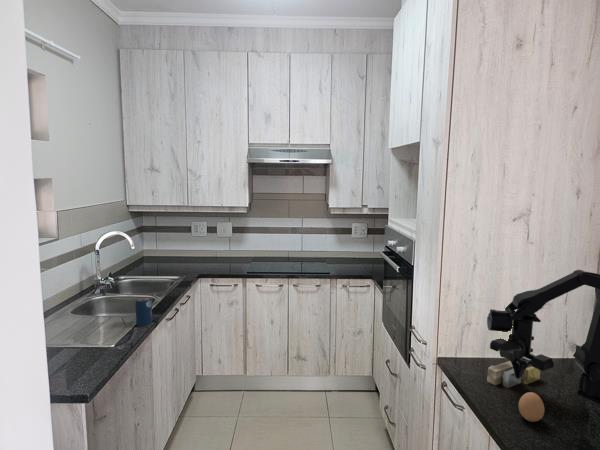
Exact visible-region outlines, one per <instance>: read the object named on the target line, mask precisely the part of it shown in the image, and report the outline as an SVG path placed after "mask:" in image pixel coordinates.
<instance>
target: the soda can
mask: <svg viewBox="0 0 600 450" xmlns="http://www.w3.org/2000/svg"><path fill="white" fill-rule="evenodd" d="M134 305H135V323H136V325H137V326H138V327H141V328H142V327H149V326H150V325H151V324H152V322H153V301H152V300H151V297H148V296H141V297H138V298H136V301H135V304H134Z"/></svg>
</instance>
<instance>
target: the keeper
mask: <svg viewBox="0 0 600 450" xmlns="http://www.w3.org/2000/svg"><path fill="white" fill-rule="evenodd" d="M523 374H524V375H523V383H524V384H526V385H529V384H531V383H535V382H536V381H539V380H541V370H539V369H537V368H534V367H532V365H531V366H528V367H527V368H526V370H525V371H524V373H523Z"/></svg>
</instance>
